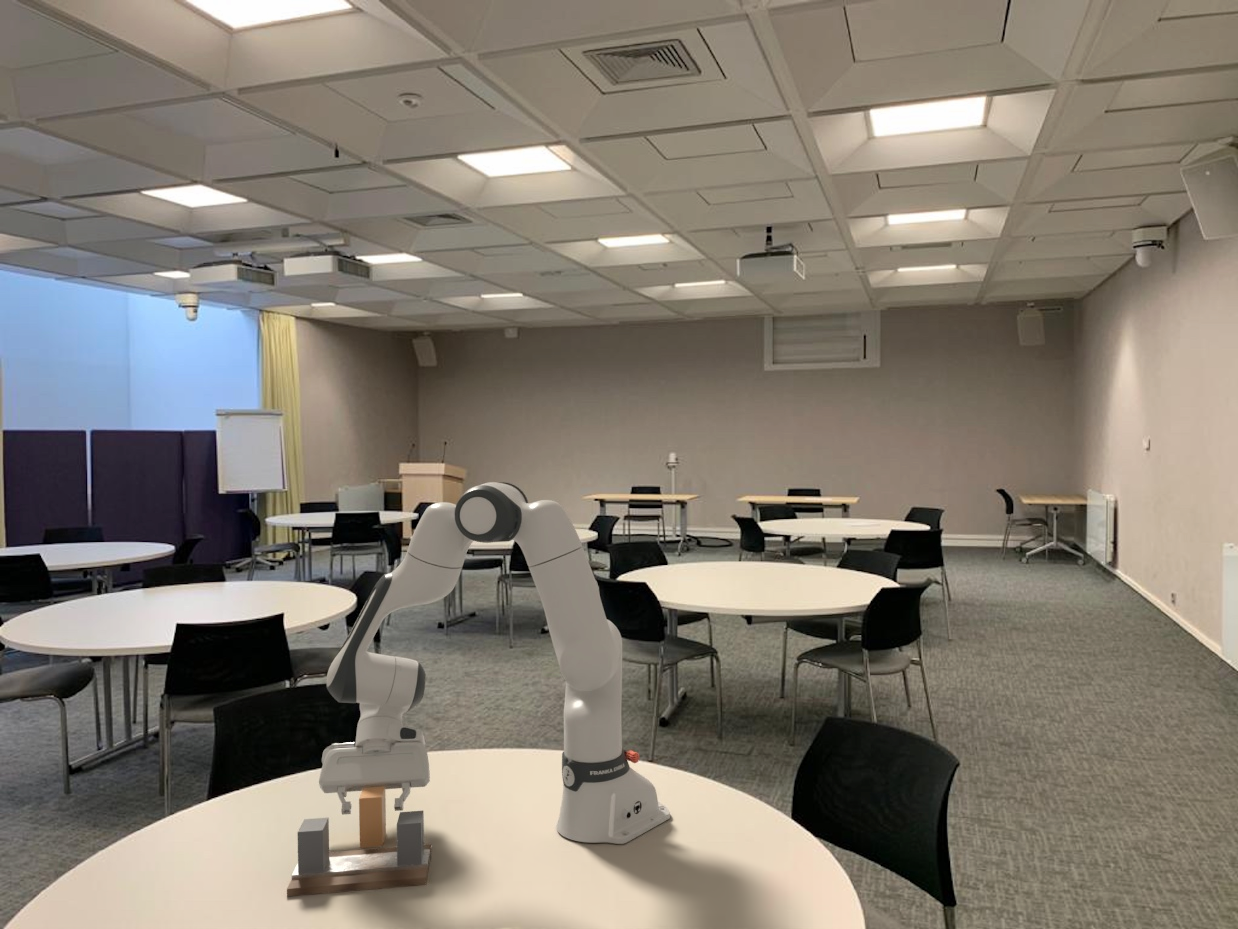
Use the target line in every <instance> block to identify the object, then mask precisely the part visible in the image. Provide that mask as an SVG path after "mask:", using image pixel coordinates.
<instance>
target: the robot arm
mask: <svg viewBox="0 0 1238 929" xmlns="http://www.w3.org/2000/svg"><path fill="white" fill-rule="evenodd" d="M511 541H514V542H515V543H517V544H518V546H519V547H520V549H521V552H522V554H523V556H524V558H525V561H526V564H527V566H528V570H529V572H530V575H531V578H532V580H533V583H534V585H535V588H536V591H537V593H538V597H539V598H540V602H541V605H542V607H543V611H544V615H545V619H546V623H547V628H548V631H549V635H550V639H551V642H552V647H553V649H554V652H555V655H556V656H555V657H556V659H557V662H558V667H559V671H560V674H561V676H562V679H564V681H565V692H564V693H565V694H564V706H563V751H562V754H561V775H562V777H561V778H562V782H563V784H562V785H563V787H562V788H563V789H562V799H561V806H560V810H559V815H558V819H557V822H556V831H557V832H558V833H559V834H560V835H561V836H563V837H564V838H566V839H569V840H572V841H576V842H580V843H590V844H591V843H595V844H597V843H607V844H615V845H616V844H617V845H624V844H626V843H629V842H631V841H632V840H633V839H635V838H637V837H639V836H641V835H643V834H644V833H646V832H649V830H651V829H654V828H655V827H657V826H659V825H660V824H663V823H664V822H666V821H667V820H669V819H670V818H671V813H670V810H669V808H668V807H667V806H665V805H664V804H663V803H661V802H660V801H659V800H658V799H659V798H658V794H657V790H656V787H655V786H654V784H653V783H652V782H651V781H650V780H649V779H647V778H646V777H645V776H643V775H642V774H640V773H639V772H637V771H636V770H635V769H634V768H632V767H631V766H630V764H629V762H631V763H633V764H636V763H639V760H640V754H639V752H637V751H634V750H628V751H627V749H624V748H623V743H622V741H623V740H622V738H623V736H622V735H623V734H622V724H623V723H622V702H623V701H622V698H623V697H622V696H623V695H622V694H623V691H622V690H623V639H622V635H621V632H620V630H619V629H618V627H617V625H615V624H614V623H613V622H612V621H611V620H610V619H607V616H606V612H605V610H604V606H603V603H602V602H603V601H602V599H601V596H600V591H599V586H598V583H597V581H596V580H597V579H596V577H595V576H594V572H593V570H592V568H591V565H590V563H589V560H588V556H587V555H586V554H587V553H586V552H585V550H584V546H583V544H582V541H581V539H580V537H579V534H578V533H577V530H576V528H575V526H574V525H573V522H572V520H571V518H570V517H569V515H568V513H567V512H566V510H565V509H564V507H563V506H562V505H561V504H560V503H559V502H557V501H555V500H551V499H540V500H537V501H534V502H530V503H529V500H528V498H527V496H526V494H525V492H524V491H523V490H521V488H519V487H518V486H516V485H515V484H512V483H510V482H503V481H502V482H495V481H489V482H485V483H482V484H479V485H476V486H475V485H474V486H473V487H470V488H469V489H467V490H466V491H465V492H464V493H463V494H462V495H461V496H460V497H459V499H458V500H457V503H456V504H455V503H452V502H448V501H441V502H440V501H439V502H436V503H432V504H431V505H429V506H427V507H426V509H425V511H423V514H422V515H421V517H420V519H419V521H418V523H417V525H416V527H415V530H414V531H413V534H412V536H411V539H410V540H409V545H408V547H407V550H406V554H405V556H404V557H403V560H402V561H401V562H400V564H399V565H398V566H397V567H396V568H395V569H394V570H392V571H391V572H388V573H384V574H383V575H382V576H381V577H380V578H379V580H378V581H376V583H375V585H374V587H373V588H372V590H371V592H370V594H369V596H368V597H367V599H366V601H365V602H364V605H363V606H362V609H361V610H360V612H359V614H358V616H357V618H356V620H355V621H354V623H353V625H352V628H351V629H350V632H349V633H348V635H347V637H346V639H345V641H344V642H343V644H342V646H341V647H340V648H339V650H338V652H337V654H336V656H335V657H334V659H333V661H332V662H331V663H330V666H329V668H328V671H327V675H326V684H325V685H326V689H327V691H328V692H329V694H330V695H331V696H332V698H334V700H335V701H337V702H338V703H342V704H343V703H344V704H346V703H347V704H356V703H357V704H359V711H360V715H359V716H360V717H359V720H358V722H357V725H356V726H357V727H356V736H355V741H353V742H351V741H350V742H343V743H339V742H334V743H331V745H329V746H326V747H325V749H324V750H323V752H322V757H321V763H322V766H321V770H320V774H319V780H318V785H319V788H320V789H321V791H322V792H323V793H324V794H335V793H336V794H337V797H338V799H339V800H340V801H339V802H340V803H341V815H351V814H352V807H353V806H352V802H351V801H346V797H347V795H348V793H349V792H350V793H351V792H362V790H363V788H369V787H383V786H385V790H395V789H401V790H402V791H401V792H402V793H401V795H400V796H399V797H397V798H394V803H393V804H394V805H393V808H394V811H396V812H397V811H400V812H402V811H404V804H405V801H406V800H407V798H408V797H409V795H410V794H411V788H425V787H426V786H427V785H428V784H430V782H431V781H430V779H431V777H430V776H431V775H430V774H431V773H430V771H431V770H430V761H429V756H428V750H427V748H426V746H425V745H426V741H425V736H424V733H423V731H422V730H421V729H419V728H413V727H411V726H410V727H409V726H405V725H404V724H403V715H404V713H408V712H410V711H411V710H412V709H413V708H415V707H417V706H418V704H420V703H421V702H422V700H423V699H424V696H425V691H426V690H425V687H426V671H425V669H424V667H423V666H422V664H421V663H420V662H419V661H418V660H415V659H412V658H406V657H402V656H396V655H393V656H392V655H387V654H381V653H376V652H375V653H374V652H370V651H368V649H369V648H370V645H371V644H372V642H373V639H374V637H375V635H376V633H377V632H378V630H379V629H380V626H381V624H382V623H383V621H384V619H385V618H386V617H387V616H388V615H390V614H392V613H393V612H396V611H397V610H402V609H404V608H406V609H407V608H409V607H415V606H423V605H429V604H432V603H435V602H438V601H440V600H442V599H444V598H445V597H447V596H448V595H449V594H450V593H451V592H453V590H454V588H455V587H456V584H457V583H458V580H459V578H460V575H461V572H462V570H463V566H464V563H465V559H466V555H467V554H468V553H467V552H468V550H469V548H470V547H471V545H472V544H473V542H476V543H477V542H478V543H483V544H484V543H486V544H488V543H490V544H491V543H503V542H505V543H506V542H511Z"/></svg>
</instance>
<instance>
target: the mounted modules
mask: <svg viewBox="0 0 1238 929" xmlns="http://www.w3.org/2000/svg"><path fill="white" fill-rule="evenodd" d="M398 814H399V815H398V817H397V818H398V819H397V821H396V847H397V866H402V865H414V864H422V859H423V853H424V845H425V832H424V830H425V828H424V826H425V823H424V822H425V821H424V819H425V818H424V816H425V815H424V810H414V811H413V810H412V811H411V810H410V811H400V812H399V813H398ZM329 822H330V818H329V817H317V818H306V819H305V818H304V819H303V822H302V823H301V825H300V827H299V828H298V830H297V863H298V874H306V873H318V872H324V869H325V867H326V864H327V862H328V860H329V852H330V829H329V828H330V826H329V825H330V824H329Z"/></svg>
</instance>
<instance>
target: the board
mask: <svg viewBox="0 0 1238 929" xmlns="http://www.w3.org/2000/svg"><path fill="white" fill-rule="evenodd" d="M432 848H433V847H432V843H431V844H429V843H427V844H424V850H425V849H430V856H429V862H428V868H417V869H405V870H393V871H381V872H369V873H357V874H345V875H333V876H322V877H310V878H298V879H292V878H291V879H290V882H289V884H288V885H287V888H286V897H294V896H295V897H296V896H308V895H316V894H319V895H320V894H329V893H332V894H333V893H340V892H352V891H353V892H356V891H363V890H364V891H365V890H375V889H389V888H390V889H391V888H399V887H408V886H411V887H412V886H422V885H427V882H428V876H429V870H430V861H431V857H432V851H433V850H432ZM388 852H397V846H391V847H379V848H377V847H375V848H367V849H352V850H341V851H329V857H338V856H351V855H363V854H376V853H388Z"/></svg>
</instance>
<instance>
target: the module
mask: <svg viewBox="0 0 1238 929" xmlns="http://www.w3.org/2000/svg"><path fill="white" fill-rule="evenodd" d="M386 802H387V801H386V789H385V786H383V787H369V788H363V790H362V791H360V796H358V809H359V810H358V812H359V815H358V817H359V822H358V823H359V848H360V849H363V848H374V847H375V848H377V847H383V846H384V842H385V839H386V835H387V823H386V822H387V816H386V815H387V811H386V810H387V809H386V808H387V804H386Z"/></svg>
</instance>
